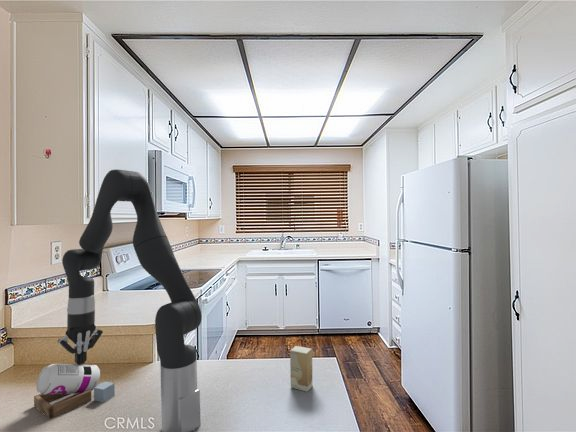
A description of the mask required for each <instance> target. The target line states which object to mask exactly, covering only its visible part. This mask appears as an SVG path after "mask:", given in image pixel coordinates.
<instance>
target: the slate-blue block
mask: <svg viewBox="0 0 576 432" xmlns="http://www.w3.org/2000/svg"><path fill="white" fill-rule="evenodd" d="M115 387H116V386H115V383H114V382H110V381H103V382H102V383H100V384H97V386H96V387H94V390H93V400H94V401H97V402H101V403H105V402H107V401H108V400H110V399H112V398H113V397H114V396H116V395H115V389H116V388H115Z"/></svg>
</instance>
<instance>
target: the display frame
mask: <svg viewBox="0 0 576 432" xmlns="http://www.w3.org/2000/svg"><path fill="white" fill-rule="evenodd" d="M66 395H68V394H48V395H44V394H42V393H39V394H36V395H34V396H33V406H34V407H35V406H36V407H37V408H38V409H39V410H40V411H39V410H38V409H37V408H36V407H35V408H36V409H37V410H38V411H39V412H41V414H43V413H44V414H45V415H46V416H45V415H44V414H43V415H44V416H45V417H46V418H48V419H49V420H50V418H51V419H53V418H56V417H58V416H60V415H62V414H64V413H66V412H68V411H72V410H73V409H75V408H77V407H80V406H82V405H84V404H87V403H89V402H91V401H92V391H91V390H88V391H86V392H83V393H78V394H77V395H74V396H72V397H71V396H70V398H67V399H64V400H62V401H60V402H56V403H55V404H51V403H49V402H51V400H52V401H54V400H57V399H59V398H62V397H64V396H66ZM59 414H60V415H59ZM52 417H53V418H52Z"/></svg>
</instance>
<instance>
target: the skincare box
mask: <svg viewBox="0 0 576 432" xmlns="http://www.w3.org/2000/svg"><path fill="white" fill-rule="evenodd" d="M289 351H290V355H289V356H290V358H289V359H290V360H289V361H290V363H289V366H290V369H289V371H290V388H292V389H296V390H299V391H303V392H307V393H308V391H310V390H311V388H312V387H313V348H310V347H305V346H299V345H295V346H294V347H292V348H291V349H290V350H289Z"/></svg>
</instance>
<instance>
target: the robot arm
mask: <svg viewBox="0 0 576 432" xmlns="http://www.w3.org/2000/svg"><path fill="white" fill-rule="evenodd" d="M117 202H130V203H131V204H132V205H133V208H134V211H135V214H136V217H137V220H136V225H135V228H134V231H133V237H132V245H133V249H134V253H135V254H136V256H137V257H136V258H137V259H138V262H139V264H140V265H141V268H143V269H144V271H146V272H147V273H148V274H149V275H150V276H151V277H152V278H153V279H154V280H156V281H157V282H158V283H159V284H160V285H161V286H162V287H163V288H164V290H165V292H166V294H167V295H168V297H169V299H170V302H169V303H166V304H163V305H161V306H160V307H159V308H158V309H157V312H156V314H155V318H154V319H155V320H154V326H155V327H154V330H155V341H156V342H155V344H156V351H157V355H158V358H159V361H160V362H159V363H160V366H159V367H160V368H159V369H160V402H161V403H160V404H161V406H160V407H161V432H193V431H194V430H196V429H198V428H199V427H201V423H202V422H201V393H200V389H198V363H197V362H198V361H197V359H198V358H197V349H196V347H195V346H193V345H190V344H186V343H185V337H184V336H186V334H188V333H191V332H193V331H195V330H196V329H198V328H199V326H200V325H201V323H202V318H203V316H202V315H203V314H202V310H201V307H200V305H199V303H198V301H197V298H196V296H195V295H194V292H193V291H192V289H191V288H190V286H189V283H188V282H187V280H186V278H185V276H184V274H183V272H182V269H181V267H180V265H179V263H178V261H177V258H176V256H175V254H174V251H173V247H172V246H171V243H170V241H169V238H168V235H167V233H166V232H165V230H164V227H163V224H162V222H161V219H160V217H159V214H158V211H157V208H156V206H155V202H154V199H153V195H152V192H151V188H150V185H149V183H148V180H147V177H145V176H144V174H142V173H140V172H138V171H133V170H127V169H111V170H109V171H108V172H107V173H106V174H105V176H104V178H103V180H102V182H101V185H100V188H99V191H98V194H97V198H96V200H95V203H94V208H93V210H92V214H91V217H90V219H89V221H88V224H87V225H86V227H85V228H84V231H83V233H82V234H81V236H80V238H79V241H78V243H79V246H80V248H73V249H68V250H67V251H66V252H65V253H64V254H63V256H62V267H63V270H64V273H65V277H66V279H67V284H68V300H67V307H66V310H67V311H66V312H67V313H66V314H67V317H66V318H67V319H66V320H67V321H66V323H67V325H66V326H67V329H66V331H65V335H64V336H63V337H62V338H58V340H56V341H57V343H58V344H59V345H60V346H61V347H62V348H63V349H65V350H66V351H67V352H68V353H70V354H72V355H73V354H74V363H75V364H78V365H85V363H86V361H87V359H88V358H87V357H88V356H87V355H88V350H90V349H93V348H94V346H95V345H96V344H97V342H98V340H99V339H100V337H101V336H102V334H103V330H102V329H99V328H97V326H96V324H95V321H96V299H95V280H94V278H93V277H89V276H82V274H81V273H80V271H87V270H94V269H95V268H97V267H98V266H99V265H100V264H101V262H102V258H103V256H102V255H103V251H104V248H105V245H106V243H107V241H108V240H109V238H110V236H111V235H112V232H113V227H114V226H113V220H112V214H111V211H112V210H113V207H114V206H115V204H116V203H117ZM69 340H70V341H71V342H72V345H73V347H72V346H71V345H70V344H69Z"/></svg>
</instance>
